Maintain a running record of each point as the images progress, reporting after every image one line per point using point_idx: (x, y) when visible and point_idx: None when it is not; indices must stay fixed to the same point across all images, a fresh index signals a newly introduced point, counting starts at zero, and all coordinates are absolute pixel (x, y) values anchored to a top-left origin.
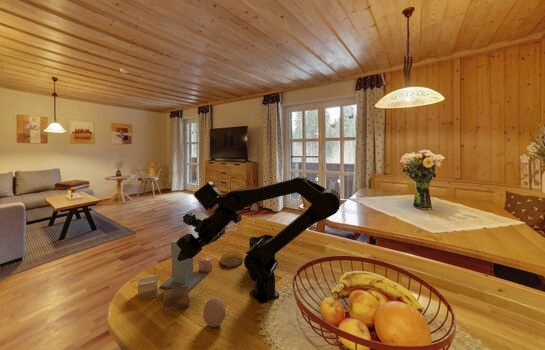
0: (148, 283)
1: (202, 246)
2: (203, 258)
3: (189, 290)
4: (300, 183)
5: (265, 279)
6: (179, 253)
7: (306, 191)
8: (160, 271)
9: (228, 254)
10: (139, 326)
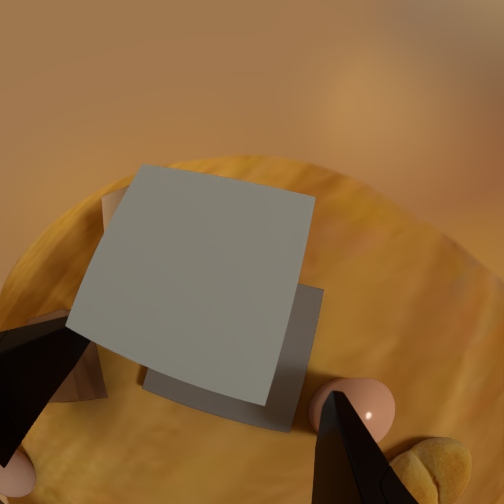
0: (104, 226)
1: (315, 467)
2: (369, 401)
3: (150, 391)
4: None
5: None
6: (22, 328)
7: None
8: (314, 207)
9: (418, 493)
10: (30, 287)
